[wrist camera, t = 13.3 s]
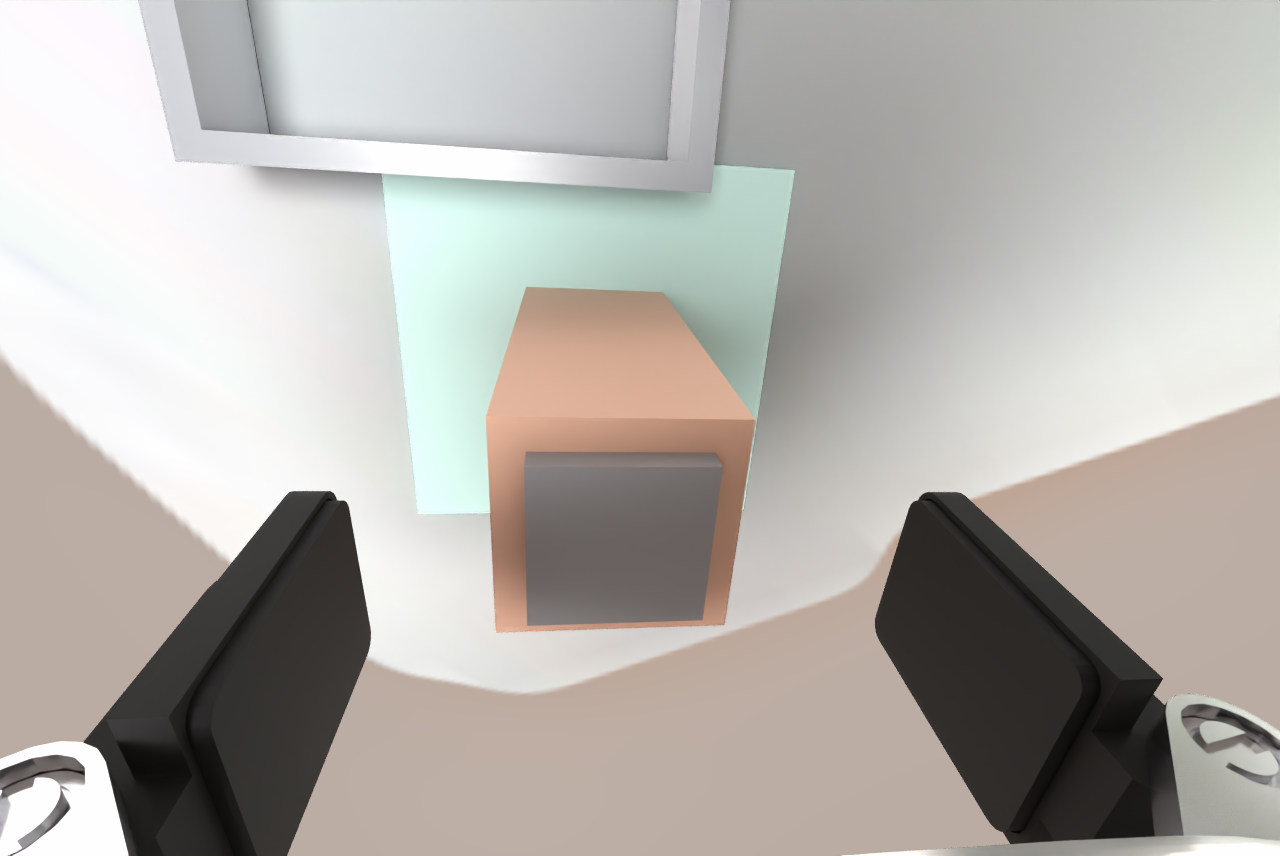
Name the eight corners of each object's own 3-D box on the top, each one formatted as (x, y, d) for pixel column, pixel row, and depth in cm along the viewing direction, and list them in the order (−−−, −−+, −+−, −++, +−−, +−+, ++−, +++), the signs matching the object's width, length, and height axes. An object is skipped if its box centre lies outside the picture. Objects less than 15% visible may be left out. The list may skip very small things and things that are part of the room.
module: (662, 292, 22) (765, 432, 11) (653, 415, 24) (731, 645, 13) (526, 286, 22) (481, 430, 10) (528, 414, 24) (492, 653, 12)
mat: (789, 169, 21) (795, 170, 21) (739, 503, 27) (743, 510, 27) (383, 142, 20) (378, 142, 19) (421, 506, 25) (417, 514, 25)
